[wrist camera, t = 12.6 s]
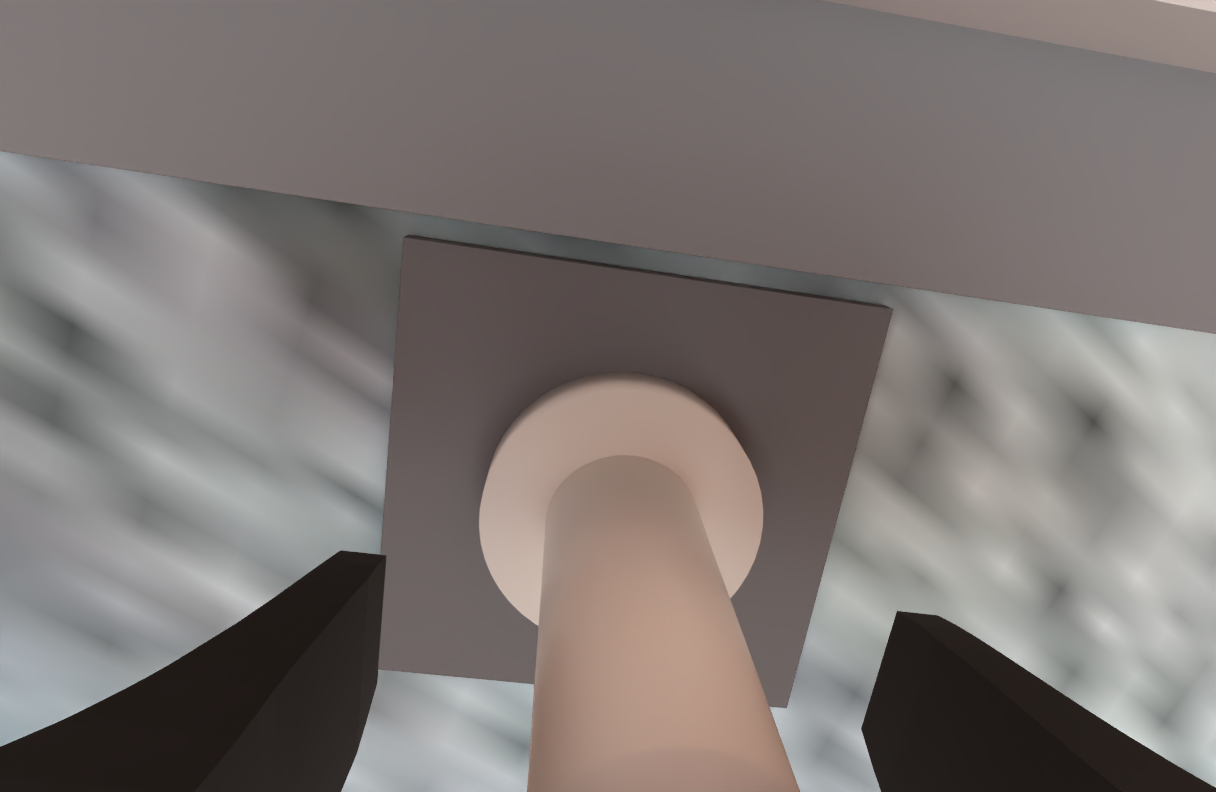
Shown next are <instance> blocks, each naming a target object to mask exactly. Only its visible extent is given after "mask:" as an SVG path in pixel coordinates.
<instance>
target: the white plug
mask: <svg viewBox="0 0 1216 792" xmlns="http://www.w3.org/2000/svg"><path fill="white" fill-rule="evenodd" d="M762 529H763V504H762V495H761V490H760V487H759V483H758V479H757V476H756V474H755V471H754V469H753V467H752V465H751V462H750V460H749V459H748V457H747V455H746V454H745V452H744V450H743V448H742V447H741V445H740V443H739V442H738V440H737V438H736V437H735V435H734V433H733V432H732V430H731V429H730V427H729V425H728V424H727V423H726V421H725V420H724V419H723V418H722V417H721V415H720V414H719V413H718V412H717V411H716V410H715V409H714V408H713V407H712V406H711V405H710V404H708V403H707V402H706V401H705V400H704V399H703V398H701V397H700V396H698V395H697V394H695V393H694V392H692V391H691V390H689V389H687V388H685V387H683V386H681V385H679V384H677V383H675V382H672V381H669V380H666V379H664V378H661V377H658V376H653V375H648V374H643V373H634V372H605V373H599V374H594V375H588V376H584V377H581V378H578V379H575V380H571V381H569V382H566V383H564V384H562V385H560V386H558V387H555V388H553V389H552V390H550V391H548V392H547V393H545V394H544V395H542V396H540V397H539V398H537V399H536V400H535V401H534V402H533V403H531V404H530V405H529V406H528V407H526V408H525V409H524V410H523V411H522V412H521V413H520V414H519V416H518V417H517V418H516V419H515V420H514V421H513V422H512V423H511V425H510V426H509V428H508V429H507V431H506V432H505V433H504V435H503V436H502V438H501V440H500V442H499V444H498V446H497V448H496V450H495V453H494V455H493V458H492V461H491V464H490V467H489V471H488V475H487V479H486V482H485V486H484V490H483V495H482V500H481V505H480V513H479V532H480V542H481V546H482V550H483V554H484V558H485V561H486V564H487V566H488V569H489V571H490V573H491V575H492V577H493V579H494V581H495V582H496V584H497V586H498V587H499V589H500V590H501V592H502V593H503V594H504V596H505V597H506V598H507V599H508V601H509V602H510V603H511V604H512V605H513V606H514V607H515V608H516V609H517V610H518V611H519V612H520V613H521V614H522V615H524V616H525V617H526V618H528V619H529V620H530V621H532V622H533V623H534V624H536V625H538V626H539V627H538V641H537V656H536V670H535V685H534V699H533V714H532V728H531V743H530V757H529V772H528V786H527V792H800V790H799V787H798V785H797V782H796V779H795V776H794V774H793V771H792V768H791V765H790V763H789V760H788V757H787V754H786V752H785V749H784V746H783V743H782V741H781V738H780V735H779V732H778V729H777V727H776V724H775V721H774V718H773V716H772V713H771V710H770V707H769V705H768V702H767V699H766V696H765V694H764V691H763V688H762V685H761V683H760V680H759V677H758V674H757V672H756V669H755V666H754V663H753V660H752V658H751V655H750V652H749V649H748V647H747V644H746V641H745V638H744V636H743V633H742V630H741V627H740V625H739V622H738V619H737V616H736V614H735V611H734V608H733V605H732V602H731V600H730V598H731V597H732V596H733V595H734V594H735V592H736V591H737V590H738V589H739V587H740V586H741V584H742V583H743V581H744V580H745V578H746V576H747V575H748V573H749V571H750V569H751V567H752V565H753V562H754V560H755V558H756V554H757V551H758V548H759V545H760V541H761V535H762Z"/></svg>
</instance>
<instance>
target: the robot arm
mask: <svg viewBox="0 0 1216 792" xmlns="http://www.w3.org/2000/svg"><path fill="white" fill-rule="evenodd" d="M386 557H387V556H386V555H377V554H368V553H359V552H349V551H339V552H338V553H336V554H335V555H333V556H332V557H330V558H329V559H328V560H326V561H325V562H323V563H322V564H320V565H319V566H318V567H316V568H315V569H313V570H312V571H311V572H309V573H308V574H306V575H305V576H304V577H302V578H301V579H299V580H298V581H297V582H295V583H294V584H293V585H291V586H290V587H288V588H287V589H285V590H284V591H283V592H281V593H280V594H278V595H277V596H276V597H274V598H273V599H271V600H270V601H269V602H267V603H266V604H264V605H263V606H261V607H260V608H258V609H257V610H255V611H254V612H252V613H251V614H250V615H248V616H247V617H245V618H244V619H242V620H241V621H239V622H238V623H236V624H235V625H233V626H232V627H230V628H228V629H227V630H225V631H223V632H222V633H220V634H219V635H217V636H215V637H214V638H212V639H210V640H209V641H207V642H206V643H204V644H202V645H201V646H199V647H197V648H196V649H194V650H193V651H191V652H189V653H188V654H186V655H184V656H183V657H181V658H180V659H178V660H176V661H175V662H173V663H171V664H170V665H168V666H166V667H164V668H163V669H161V670H159V671H157V672H156V673H154V674H152V675H150V676H148V677H147V678H145V679H143V680H141V681H139V682H137V683H135V684H134V685H132V686H130V687H128V688H126V689H124V690H122V691H120V692H118V693H116V694H114V695H112V696H110V697H108V698H106V699H104V700H102V701H100V702H98V703H96V704H94V705H92V706H90V707H88V708H86V709H84V710H82V711H80V712H78V713H76V714H74V715H72V716H70V717H68V718H66V719H64V720H62V721H59V722H57V723H55V724H53V725H50V726H48V727H46V728H43V729H41V730H39V731H36V732H34V733H32V734H29V735H27V736H25V737H22V738H20V739H18V740H15V741H13V742H11V743H8V744H6V745H4V746H2V747H0V792H341V790H342V788H343V785H344V783H345V781H346V778H347V776H348V773H349V771H350V769H351V766H352V764H353V761H354V759H355V756H356V754H357V751H358V747H359V744H360V741H361V737H362V734H363V731H364V727H365V724H366V720H367V717H368V713H369V710H370V706H371V703H372V699H373V696H374V692H375V689H376V685H377V677H378V663H379V650H380V637H381V623H382V610H383V597H384V584H385V570H386ZM861 729H862V732H863V736H864V739H865V742H866V746H867V749H868V752H869V756H870V759H871V762H872V766H873V769H874V772H875V775H876V778H877V781H878V783H879V786H880V789H881V792H1216V788H1215V787H1213V786H1211V785H1210V784H1208V783H1206V782H1204V781H1203V780H1201V779H1199V778H1197V777H1196V776H1194V775H1192V774H1190V773H1189V772H1187V771H1185V770H1183V769H1182V768H1180V767H1178V766H1177V765H1175V764H1173V763H1172V762H1170V761H1168V760H1167V759H1165V758H1163V757H1162V756H1160V755H1158V754H1157V753H1155V752H1154V751H1152V750H1150V749H1149V748H1147V747H1145V746H1144V745H1142V744H1140V743H1139V742H1137V741H1135V740H1134V739H1132V738H1131V737H1129V736H1127V735H1126V734H1124V733H1122V732H1121V731H1119V730H1118V729H1116V728H1114V727H1113V726H1111V725H1110V724H1108V723H1107V722H1105V721H1103V720H1102V719H1100V718H1099V717H1097V716H1096V715H1094V714H1092V713H1091V712H1089V711H1088V710H1086V709H1085V708H1083V707H1082V706H1080V705H1079V704H1077V703H1076V702H1074V701H1072V700H1071V699H1069V698H1068V697H1066V696H1065V695H1063V694H1062V693H1060V692H1059V691H1057V690H1056V689H1054V688H1053V687H1051V686H1050V685H1048V684H1047V683H1045V682H1044V681H1042V680H1041V679H1039V678H1038V677H1036V676H1035V675H1033V674H1032V673H1030V672H1029V671H1027V670H1026V669H1024V668H1023V667H1021V666H1020V665H1018V664H1017V663H1015V662H1014V661H1012V660H1010V659H1009V658H1007V657H1006V656H1004V655H1003V654H1001V653H1000V652H998V651H997V650H995V649H994V648H992V647H991V646H989V645H988V644H986V643H984V642H983V641H981V640H980V639H978V638H976V637H975V636H973V635H972V634H970V633H968V632H967V631H965V630H963V629H962V628H960V627H958V626H957V625H955V624H953V623H951V622H949V621H947V620H945V619H943V618H942V617H940V616H937V615H928V614H919V613H910V612H900V611H897V613H896V617H895V620H894V623H893V626H892V630H891V633H890V636H889V640H888V643H887V646H886V649H885V653H884V656H883V659H882V662H881V666H880V669H879V672H878V676H877V679H876V682H875V685H874V689H873V692H872V695H871V699H870V702H869V705H868V708H867V712H866V715H865V718H864V722H863V725H862V728H861Z"/></svg>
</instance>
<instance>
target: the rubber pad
mask: <svg viewBox="0 0 1216 792" xmlns="http://www.w3.org/2000/svg"><path fill="white" fill-rule="evenodd" d="M892 311H893V309H891V308H889V307H887V306H885V305H878V304H871V303H865V302H858V301H851V300H844V299H837V298H831V297H824V296H817V295H810V294H804V293H797V292H790V291H783V290H777V289H770V288H763V287H756V286H749V285H743V284H736V283H729V282H722V281H716V280H709V279H702V278H695V277H688V276H682V275H675V274H668V273H661V272H655V271H648V270H641V269H634V268H628V267H621V266H614V265H607V264H600V263H594V262H587V261H580V260H573V259H567V258H560V257H553V256H546V255H540V254H533V253H526V252H519V251H512V250H506V249H499V248H492V247H485V246H479V245H472V244H465V243H458V242H452V241H445V240H438V239H431V238H424V237H418V236H411V235H408V236H406V237H404V241H403V254H402V268H401V282H400V296H399V309H398V323H397V337H396V351H395V365H394V378H393V392H392V406H391V420H390V434H389V447H388V461H387V475H386V489H385V502H384V516H383V530H382V544H381V555H386V556H387V557H386V570H385V584H384V597H383V610H382V623H381V637H380V650H379V663H378V669H381V670H392V671H402V672H413V673H423V674H434V675H444V676H455V677H465V678H476V679H486V680H497V681H507V682H518V683H528V684H535V670H536V656H537V641H538V627H539V626H538V625H536V624H534V623H533V622H532V621H530V620H529V619H528V618H526V617H525V616H524V615H522V614H521V613H520V612H519V611H518V610H517V609H516V608H515V607H514V606H513V605H512V604H511V603H510V602H509V601H508V599H507V598H506V597H505V596H504V594H503V593H502V592H501V590H500V589H499V587H498V586H497V584H496V582H495V581H494V579H493V577H492V575H491V573H490V571H489V569H488V566H487V564H486V561H485V558H484V554H483V550H482V546H481V542H480V532H479V513H480V505H481V500H482V495H483V490H484V486H485V482H486V479H487V475H488V471H489V467H490V464H491V461H492V458H493V455H494V453H495V450H496V448H497V446H498V444H499V442H500V440H501V438H502V436H503V435H504V433H505V432H506V431H507V429H508V428H509V426H510V425H511V423H512V422H513V421H514V420H515V419H516V418H517V417H518V416H519V414H520V413H521V412H522V411H523V410H524V409H525V408H526V407H528V406H529V405H530V404H531V403H533V402H534V401H535V400H536V399H537V398H539V397H540V396H542V395H544V394H545V393H547V392H548V391H550V390H552V389H553V388H555V387H558V386H560V385H562V384H564V383H566V382H569V381H571V380H575V379H578V378H581V377H584V376H588V375H594V374H599V373H605V372H634V373H643V374H648V375H653V376H658V377H661V378H664V379H666V380H669V381H672V382H675V383H677V384H679V385H681V386H683V387H685V388H687V389H689V390H691V391H692V392H694V393H695V394H697V395H698V396H700V397H701V398H703V399H704V400H705V401H706V402H707V403H708V404H710V405H711V406H712V407H713V408H714V409H715V410H716V411H717V412H718V413H719V414H720V415H721V417H722V418H723V419H724V420H725V421H726V423H727V424H728V425H729V427H730V429H731V430H732V432H733V433H734V435H735V437H736V438H737V440H738V442H739V443H740V445H741V447H742V448H743V450H744V452H745V454H746V455H747V457H748V459H749V460H750V462H751V465H752V467H753V469H754V471H755V474H756V476H757V479H758V483H759V487H760V490H761V495H762V504H763V529H762V535H761V541H760V545H759V548H758V551H757V554H756V558H755V560H754V562H753V565H752V567H751V569H750V571H749V573H748V575H747V576H746V578H745V580H744V581H743V583H742V584H741V586H740V587H739V589H738V590H737V591H736V592H735V594H734V595H733V596H732V597H731V598H730V600H731V602H732V605H733V608H734V611H735V614H736V616H737V619H738V622H739V625H740V627H741V630H742V633H743V636H744V638H745V641H746V644H747V647H748V649H749V652H750V655H751V658H752V660H753V663H754V666H755V669H756V672H757V674H758V677H759V680H760V683H761V685H762V688H763V691H764V694H765V696H766V699H767V702H768V705H769V706H770V707H781V708H787V705H788V701H789V697H790V693H791V690H792V686H793V682H794V678H795V675H796V671H797V667H798V663H799V660H800V656H801V652H802V648H803V645H804V641H805V637H806V633H807V630H808V626H809V622H810V618H811V615H812V611H813V607H814V603H815V600H816V596H817V592H818V588H819V585H820V581H821V577H822V573H823V570H824V566H825V562H826V558H827V555H828V551H829V547H830V543H831V540H832V536H833V532H834V528H835V525H836V521H837V517H838V513H839V510H840V506H841V502H842V498H843V495H844V491H845V487H846V483H847V480H848V476H849V472H850V469H851V465H852V461H853V457H854V454H855V450H856V446H857V442H858V439H859V435H860V431H861V427H862V424H863V420H864V416H865V412H866V409H867V405H868V401H869V397H870V394H871V390H872V386H873V382H874V379H875V375H876V371H877V367H878V364H879V360H880V356H881V352H882V349H883V345H884V341H885V337H886V334H887V330H888V326H889V322H890V319H891V315H892Z"/></svg>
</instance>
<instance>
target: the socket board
mask: <svg viewBox="0 0 1216 792" xmlns="http://www.w3.org/2000/svg"><path fill="white" fill-rule="evenodd" d="M0 151H4V152H11V153H18V154H24V155H31V156H38V157H44V158H51V159H58V160H64V161H71V162H78V163H84V164H91V165H98V166H104V167H111V168H117V169H124V170H131V171H137V172H144V173H151V174H157V175H164V176H171V177H177V178H184V179H191V180H197V181H204V182H210V183H217V184H224V185H230V186H237V187H244V188H250V189H257V190H264V191H270V192H277V193H284V194H290V195H297V196H304V197H310V198H317V199H323V200H330V201H337V202H343V203H350V204H357V205H363V206H370V207H377V208H383V209H390V210H397V211H403V212H410V213H417V214H423V215H430V216H436V217H443V218H450V219H456V220H463V221H470V222H476V223H483V224H490V225H496V226H503V227H510V228H516V229H523V230H530V231H536V232H543V233H549V234H556V235H563V236H569V237H576V238H583V239H589V240H596V241H603V242H609V243H616V244H623V245H629V246H636V247H642V248H649V249H656V250H662V251H669V252H676V253H682V254H689V255H696V256H702V257H709V258H716V259H722V260H729V261H736V262H742V263H749V264H755V265H762V266H769V267H775V268H782V269H789V270H795V271H802V272H809V273H815V274H822V275H829V276H835V277H842V278H849V279H855V280H862V281H868V282H875V283H882V284H888V285H895V286H902V287H908V288H915V289H922V290H928V291H935V292H942V293H948V294H955V295H962V296H968V297H975V298H981V299H988V300H995V301H1001V302H1008V303H1015V304H1021V305H1028V306H1035V307H1041V308H1048V309H1055V310H1061V311H1068V312H1074V313H1081V314H1088V315H1094V316H1101V317H1108V318H1114V319H1121V320H1128V321H1134V322H1141V323H1148V324H1154V325H1161V326H1168V327H1174V328H1181V329H1187V330H1194V331H1201V332H1207V333H1214V334H1216V0H0Z"/></svg>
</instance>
